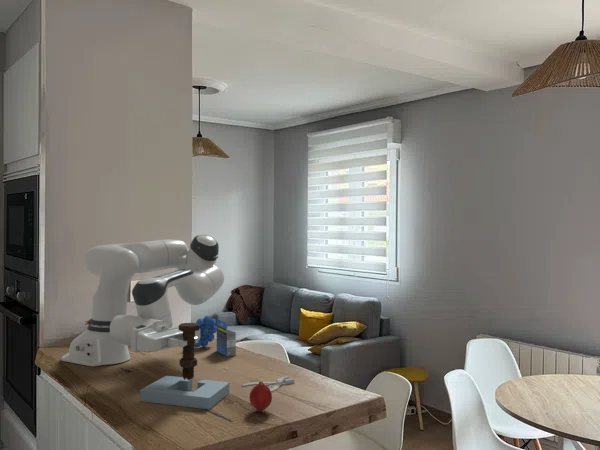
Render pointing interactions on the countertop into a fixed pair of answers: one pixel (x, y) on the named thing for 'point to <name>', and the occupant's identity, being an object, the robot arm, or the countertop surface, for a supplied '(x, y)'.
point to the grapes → (206, 331)
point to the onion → (260, 396)
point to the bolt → (188, 349)
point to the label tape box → (225, 339)
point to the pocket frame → (185, 392)
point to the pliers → (277, 384)
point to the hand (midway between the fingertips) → (191, 342)
